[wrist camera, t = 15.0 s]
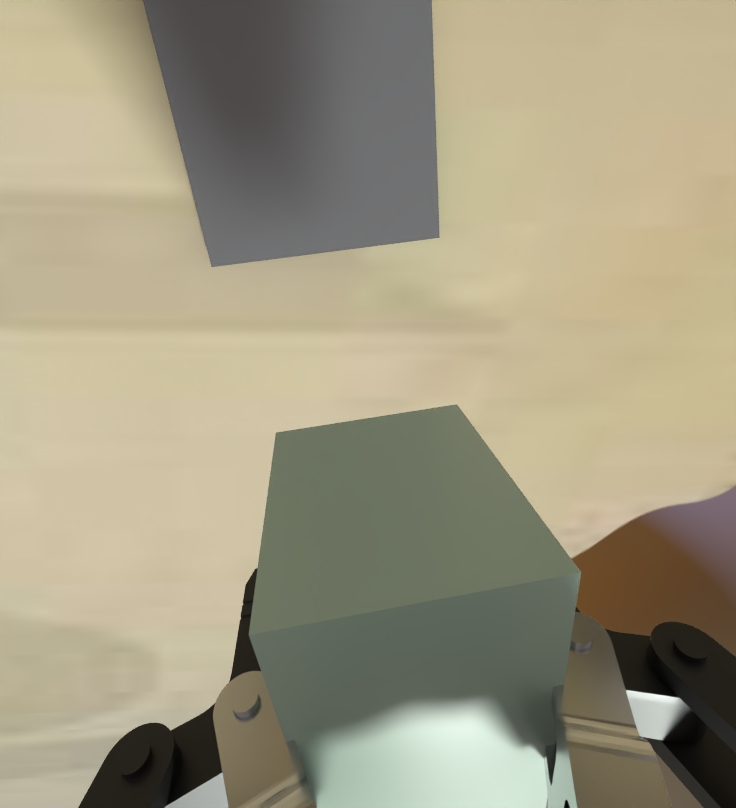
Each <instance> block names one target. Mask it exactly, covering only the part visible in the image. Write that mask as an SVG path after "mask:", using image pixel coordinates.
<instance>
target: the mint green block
mask: <svg viewBox="0 0 736 808" xmlns="http://www.w3.org/2000/svg"><path fill="white" fill-rule="evenodd" d="M580 576H581V572H580V570H579V569H578V568H577V567H576V565H575V564H574V562H573V561H572V560H571V558H570V557H569V556H568V554H567V553H566V551H565V550H564V549H563V547H562V546H561V545H560V543H559V542H558V541H557V539H556V538H555V537H554V535H553V534H552V533H551V531H550V530H549V528H548V527H547V526H546V524H545V523H544V522H543V520H542V519H541V518H540V516H539V515H538V514H537V512H536V511H535V510H534V508H533V507H532V505H531V504H530V503H529V501H528V500H527V499H526V497H525V496H524V495H523V493H522V492H521V491H520V489H519V488H518V486H517V485H516V484H515V482H514V481H513V480H512V478H511V477H510V476H509V474H508V473H507V472H506V470H505V469H504V468H503V466H502V465H501V463H500V462H499V461H498V459H497V458H496V457H495V455H494V454H493V453H492V451H491V450H490V449H489V447H488V446H487V444H486V443H485V442H484V440H483V439H482V438H481V436H480V435H479V434H478V432H477V431H476V430H475V428H474V427H473V426H472V424H471V423H470V421H469V420H468V419H467V417H466V416H465V415H464V413H463V412H462V411H461V409H460V408H459V407H458V405H450V406H444V407H438V408H431V409H425V410H418V411H412V412H406V413H399V414H393V415H386V416H380V417H374V418H367V419H361V420H355V421H348V422H342V423H335V424H329V425H323V426H316V427H310V428H303V429H297V430H291V431H284V432H278V433H276V437H275V444H274V451H273V459H272V466H271V473H270V481H269V488H268V496H267V503H266V510H265V518H264V525H263V532H262V540H261V547H260V555H259V562H258V569H257V577H256V584H255V592H254V599H253V606H252V614H251V621H250V628H249V637H250V640H251V643H252V646H253V649H254V652H255V655H256V657H257V660H258V663H259V666H260V669H261V672H262V675H263V678H264V681H265V683H266V686H267V689H268V692H269V695H270V698H271V701H272V704H273V706H274V709H275V712H276V715H277V718H278V721H279V724H280V727H281V730H282V732H283V735H284V738H285V741H286V742H287V741H291V740H295V742H296V745H297V748H298V752H299V755H300V758H301V761H302V764H303V767H304V770H305V773H306V776H307V779H308V782H309V785H310V788H311V791H312V794H313V797H314V800H315V803H316V806H317V808H546V803H547V797H548V794H547V783H546V774H545V766H544V752H545V746H549V745H554V744H555V743H556V734H555V726H554V719H553V711H552V704H551V699H552V691H553V687H554V686H559V685H564V683H565V676H566V670H567V663H568V656H569V649H570V643H571V636H572V629H573V623H574V616H575V609H576V602H577V596H578V589H579V582H580Z"/></svg>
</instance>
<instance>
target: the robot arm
mask: <svg viewBox="0 0 736 808" xmlns="http://www.w3.org/2000/svg"><path fill="white" fill-rule="evenodd" d="M257 569H258V568H257ZM257 569H255V571H254V572H253V574H252V576H251V577H250V579H249V580H248V582H247V584H246V587H245V593H244V599H243V606H242V612H241V620H240V624H239V631H238V637H237V643H236V649H235V656H234V662H233V668H232V674H231V678H230V681H229V683H228V684H227V685H226V686H225V687H224V689H223V690H222V691H221V693H220V694H219V696H218V698H217V700H216V703H215V704H214V705H213V706H211V707H210V708H209V709H208V710H207V711H205V712H204V713H202V714H200V715H199V716H197V717H195V718H193V719H191V720H190V721H188V722H186V723H184V724H182V725H180V726H179V727H177V728H175V729H173V730H171V731H170V730H169V728H167V727H166V726H165V725H163V724H160V723H148V724H144V725H141V726H139V727H137V728H135V729H133V730H132V731H130V732H129V733H127V734H126V735H125V736H124V737H123V738H121V739H120V740H119V741H118V742H117V743H116V745H115V746H114V747H113V748H112V750H111V751H110V752H109V754H108V755H107V757H106V759H105V760H104V762H103V764H102V766H101V768H100V769H99V771H98V773H97V775H96V777H95V778H94V780H93V782H92V784H91V786H90V788H89V789H88V791H87V793H86V795H85V797H84V798H83V800H82V802H81V804H80V806H79V807H78V808H317V806H316V803H315V800H314V797H313V794H312V791H311V788H310V785H309V782H308V779H307V776H306V773H305V770H304V767H303V764H302V761H301V758H300V755H299V752H298V748H297V745H296V742H295V740H291V741H287V742H286V741H285V738H284V735H283V732H282V730H281V727H280V724H279V721H278V718H277V715H276V712H275V709H274V706H273V704H272V701H271V698H270V695H269V692H268V689H267V686H266V683H265V681H264V678H263V675H262V672H261V669H260V666H259V663H258V660H257V657H256V655H255V652H254V649H253V646H252V643H251V640H250V637H249V628H250V621H251V614H252V606H253V599H254V592H255V584H256V577H257ZM551 704H552V711H553V719H554V726H555V734H556V743H555V744H554V745H549V746H545V752H544V766H545V774H546V783H547V794H548V808H672V806H671V803H670V799H669V796H668V793H667V790H666V787H665V783H664V780H663V777H662V773H661V770H660V767H659V764H658V761H657V758H656V755H655V753H654V751H655V752H656V753H657V754H658V755H659V756H660V758H661V759H662V760H663V761H664V762H665V763H666V765H667V766H668V767H669V768H670V769H671V770H672V772H673V773H674V774H675V775H676V776H677V777H678V778H679V780H680V781H681V782H682V783H683V784H684V785H685V786H686V788H687V789H688V790H689V791H690V792H691V793H692V795H693V796H694V797H695V798H696V799H697V800H698V801H699V802H700V804H701V805H702V806H703V807H704V808H736V657H735V656H734V655H732V654H731V653H730V652H729V651H727V650H726V649H725V648H723V647H722V646H721V645H720V644H719V643H718V642H716V641H715V640H714V639H713V638H711V637H710V636H709V635H707V634H706V633H704V632H702V631H701V630H699V629H697V628H695V627H693V626H690V625H687V624H683V623H679V622H665V623H662V624H659V625H658V626H656V627H655V628H654V629H653V631H652V634H651V636H644V635H635V634H627V633H619V632H614V631H610V630H607V629H605V628H603V626H602V625H601V624H600V623H598V622H597V621H596V620H594V619H593V618H591V617H590V616H588V615H585V614H583V613H581V612H580V611H579V610H578V609H577V607H576V609H575V616H574V623H573V629H572V636H571V643H570V649H569V656H568V663H567V670H566V676H565V683H564V685H559V686H554V687H553V691H552V699H551ZM641 737H643V738H644V739H643V738H641Z"/></svg>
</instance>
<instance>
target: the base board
mask: <svg viewBox="0 0 736 808" xmlns="http://www.w3.org/2000/svg"><path fill="white" fill-rule="evenodd" d="M143 2H144V6H145V10H146V14H147V18H148V21H149V25H150V29H151V33H152V37H153V41H154V45H155V49H156V53H157V56H158V60H159V64H160V68H161V72H162V76H163V80H164V84H165V87H166V91H167V95H168V99H169V103H170V107H171V111H172V115H173V119H174V122H175V126H176V130H177V134H178V138H179V142H180V146H181V150H182V153H183V157H184V161H185V165H186V169H187V173H188V177H189V181H190V185H191V188H192V192H193V196H194V200H195V204H196V208H197V212H198V216H199V219H200V223H201V227H202V231H203V235H204V239H205V243H206V247H207V251H208V254H209V258H210V262H211V266H212V267H215V266H223V265H231V264H239V263H246V262H254V261H262V260H270V259H278V258H285V257H293V256H301V255H309V254H316V253H324V252H332V251H340V250H347V249H355V248H363V247H371V246H378V245H386V244H394V243H402V242H409V241H417V240H425V239H433V238H439V211H438V181H437V151H436V120H435V90H434V60H433V30H432V0H143Z"/></svg>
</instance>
